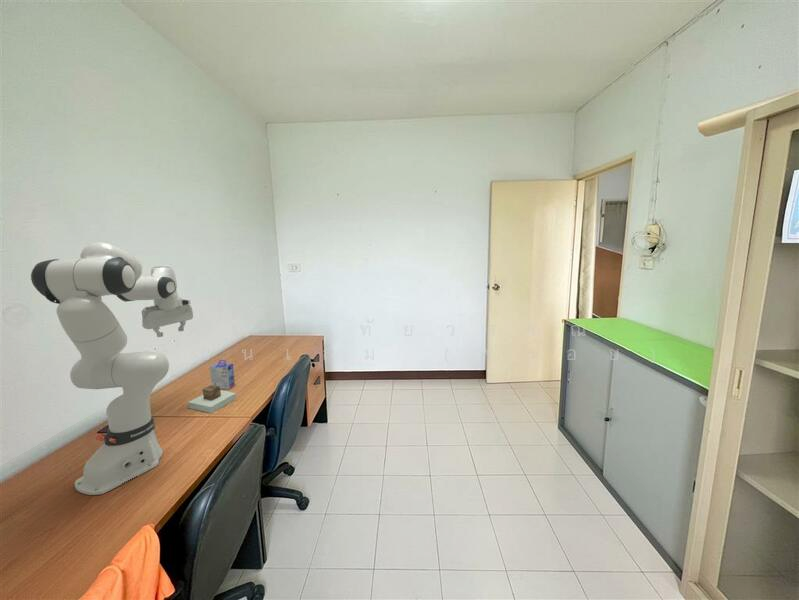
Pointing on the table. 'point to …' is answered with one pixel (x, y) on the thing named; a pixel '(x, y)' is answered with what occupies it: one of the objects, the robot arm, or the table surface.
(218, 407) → the base
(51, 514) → the table surface
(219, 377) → the ink cartridge box
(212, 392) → the walnut cube
